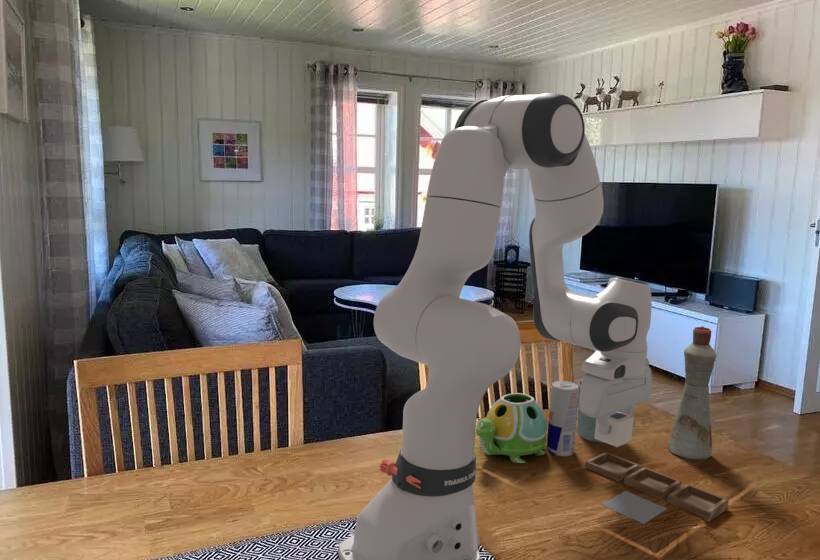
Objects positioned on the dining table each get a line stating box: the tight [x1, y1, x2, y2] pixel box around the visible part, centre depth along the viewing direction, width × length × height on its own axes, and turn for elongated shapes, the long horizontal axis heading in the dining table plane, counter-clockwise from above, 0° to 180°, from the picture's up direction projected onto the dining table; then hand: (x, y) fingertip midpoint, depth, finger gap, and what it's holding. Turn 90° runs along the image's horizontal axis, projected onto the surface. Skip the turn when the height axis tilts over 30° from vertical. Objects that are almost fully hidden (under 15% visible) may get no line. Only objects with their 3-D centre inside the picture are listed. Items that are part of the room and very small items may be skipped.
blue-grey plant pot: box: [576, 379, 621, 444], centre depth 141 cm, size 10×10×12 cm
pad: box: [601, 490, 668, 525], centre depth 111 cm, size 8×8×1 cm
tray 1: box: [584, 451, 640, 482], centre depth 125 cm, size 7×7×2 cm
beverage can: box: [546, 380, 579, 457], centre depth 132 cm, size 6×6×15 cm
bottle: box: [667, 325, 717, 461], centre depth 133 cm, size 9×9×28 cm
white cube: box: [594, 411, 635, 448], centre depth 123 cm, size 5×5×5 cm
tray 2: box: [623, 466, 682, 500], centre depth 119 cm, size 7×7×2 cm
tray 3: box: [666, 483, 729, 523], centre depth 113 cm, size 7×7×2 cm
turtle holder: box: [475, 392, 548, 464], centre depth 130 cm, size 12×18×12 cm
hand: (613, 430), depth 123 cm, fingers closed on white cube, 5 cm apart
